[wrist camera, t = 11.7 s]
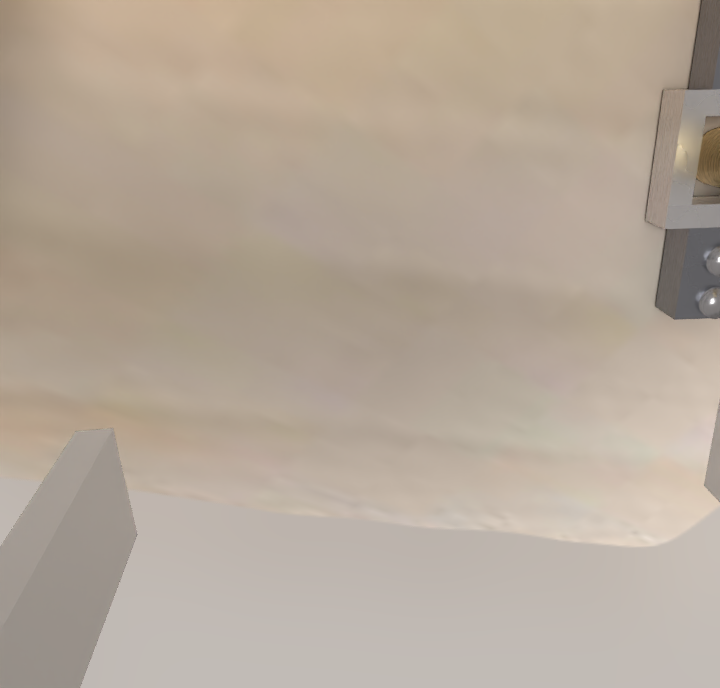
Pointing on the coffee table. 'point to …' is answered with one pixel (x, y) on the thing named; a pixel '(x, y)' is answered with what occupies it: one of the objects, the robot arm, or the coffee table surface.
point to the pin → (710, 159)
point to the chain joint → (688, 184)
